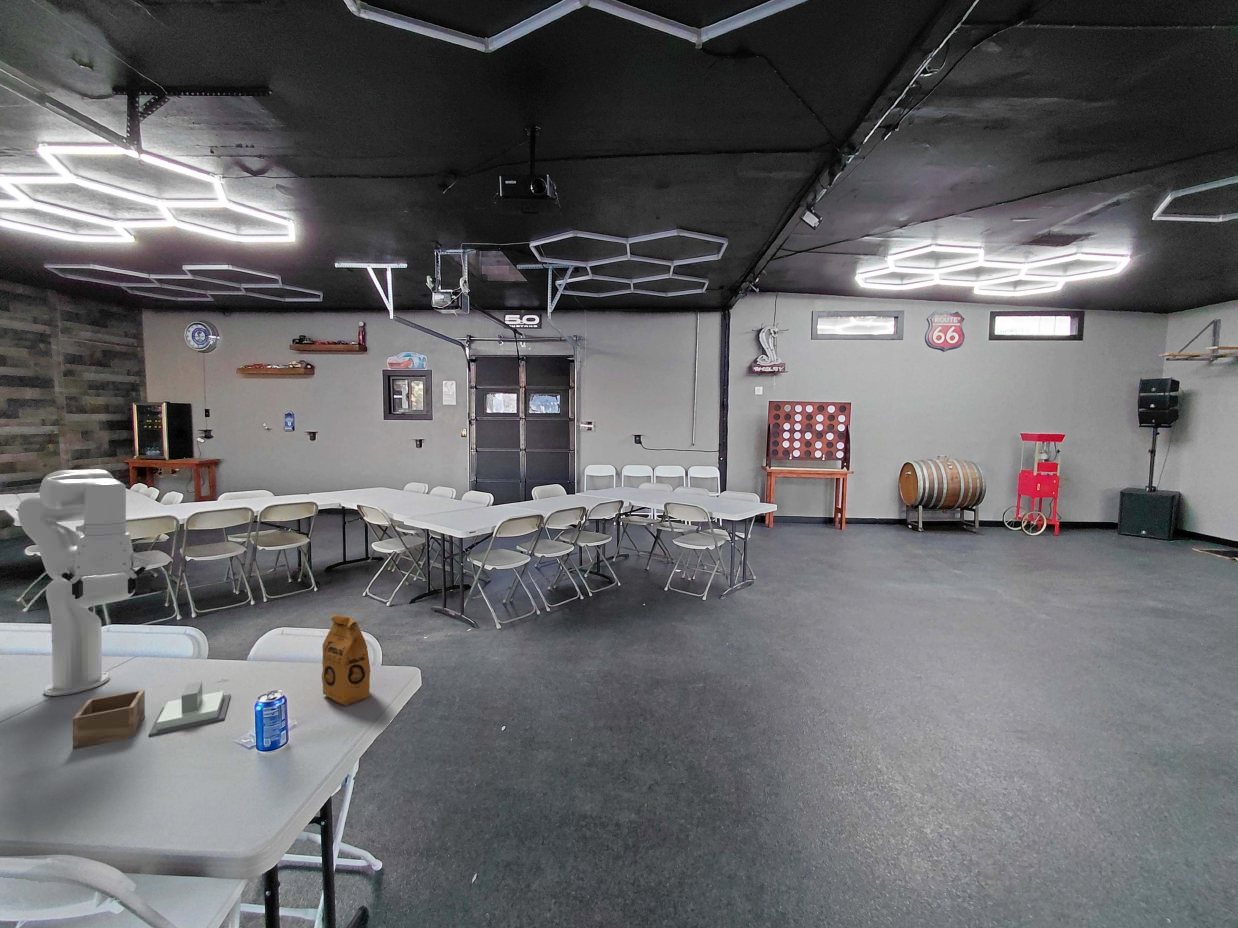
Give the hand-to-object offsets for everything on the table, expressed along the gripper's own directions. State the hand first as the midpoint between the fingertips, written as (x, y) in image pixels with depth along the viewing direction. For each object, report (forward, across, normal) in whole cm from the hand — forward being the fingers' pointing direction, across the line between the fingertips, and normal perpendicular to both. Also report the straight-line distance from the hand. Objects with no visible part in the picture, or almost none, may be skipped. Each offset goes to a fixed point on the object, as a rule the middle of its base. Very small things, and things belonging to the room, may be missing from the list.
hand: (105, 594), depth 128 cm
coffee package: (+29, +53, -26) cm, 66 cm away
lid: (+28, +19, -17) cm, 38 cm away
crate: (+29, +4, -16) cm, 34 cm away
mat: (+29, +20, -17) cm, 39 cm away
